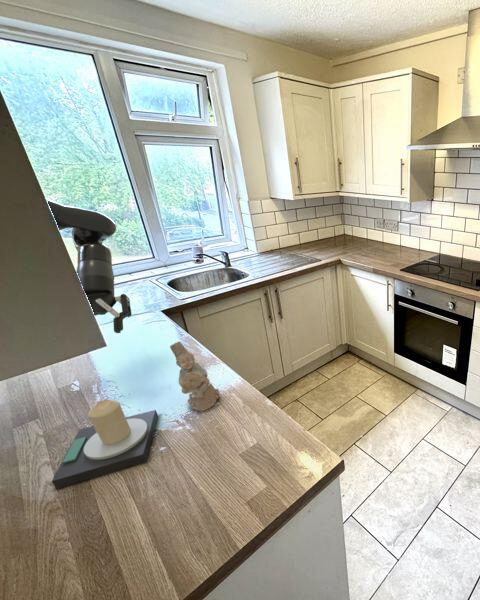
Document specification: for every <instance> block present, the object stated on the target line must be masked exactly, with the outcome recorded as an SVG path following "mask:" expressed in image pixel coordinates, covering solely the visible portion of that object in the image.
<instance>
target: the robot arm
mask: <svg viewBox="0 0 480 600" xmlns="http://www.w3.org/2000/svg"><path fill="white" fill-rule="evenodd" d="M46 199H47V201H48V204H49V206H50V208H51V211H52V213H53V215H54V218H55V220H56V222H57V225H58V228H59V230H58V231H63V230H67V229H72V230H71V239H72V242H73V245H74V247H75V249H76V252H77V266H76V271H77V273H78V276H79V278H80V281H81V284H82V286H83V289H84V291H85V293H86V295H87V297H88V300H89V302H90V304H91V307H92V309H93V312H94V315H95V316H94V317H96V316H105V315H106V314H108V313H109V314H110V315H112V316H113V319H112V320H113V332H114V333H116V334H121V332H122V331H123V330H124V319H125V318H129V317H132V308H131V301H130V297H129V296H127V295H126V294H125V293H122V294H120V295H119V296H116V295H115V276H114V270H113V259H112V251H111V249H110V248H109V247H108V246H107V245H105V244H103V242H104V241H106V240H108V239H109V238H110V237H112V236H113V235H115V233H116V232H117V225H116V223H115V222H114V220H113V219H111V218H110V217H109V216H107V215H105V214H103V213H102V212H98V211H94V210H90V209H85V208H80V207H75V206H68V205H64V204H60V203H59V202H56V201H53V200H51V199H48V198H46ZM117 302H118V303H119V304H120V305H121V312H118V311H116V310H115V308H113V307H114V306H115V305H116V303H117Z"/></svg>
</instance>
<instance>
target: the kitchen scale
mask: <svg viewBox="0 0 480 600" xmlns="http://www.w3.org/2000/svg"><path fill="white" fill-rule="evenodd" d="M125 417H126V420H127V422H128V424H129V427H130V430H131V431H130V434H129V435H128V436H127V437H126V438H125V439H123V440H122V441H120V442H118V443H115V444H111V445H105V444H103V443H102V441H101V440H100V438H99V436H98V433H97V431H96V429H95V427H94V425H91V426H86V427H82V428H79V429H78V432H77V433H76V435H75V437H74V439H73V440H72V442H71V444H70V446H69V448H68V450H67V451H66V454H65V456H64V458H63V459H62V461H61V462H60V465H59V467H58V469H57V470H56V472H55V474H54V475H53V478H52V479H51V483H52V485H53V487H54V489H56V490H58V489H61V488H64V487H67V486H71V485H74V484H77V483H80V482H84V481H87V480H91V479H94V478H97V477H100V476H104V475H107V474H111V473H113V472H117V471H120V470H123V469H125V468H130V467H134V466H136V465H139V464H143V463H146V462H147V461H148V456H149V453H150V449H151V445H152V441H153V438H154V434H155V431H156V427H157V423H158V419H159V414H158V412H157V410H156V409H153V410H150V411H149V410H148V411H145V412H142V413H138V414H133V415H130V416H125Z"/></svg>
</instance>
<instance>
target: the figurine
mask: <svg viewBox="0 0 480 600" xmlns="http://www.w3.org/2000/svg"><path fill="white" fill-rule="evenodd" d="M169 348H170V351H171V352H172V353H173V355H174V357H175V360H176V361H175V364H176V365H177V366H178V367H179V368H180V369H179V375H178V384H179V386H180V387H181V393H182V394H185V395H186V394H187V395H188V399H187V403H188V404H189V405H190V409H191V410H195V411H198V412H203V411H206V410H208V409H210V408H211V407H214V405H215V404H216V403H217V400H218V399H219V398H220V397H219V396H220V392H219V390H220V389H218V388H215V387H214V385H213V384H212V383H211V382H210V379H209V378H208V371H207V370H206V369H205V368H204V367H203V366H202V365H201V364H200V363H199V362H196V361H195V357H194V353H191V352H190V351H188V350H187V348H186V347H185V345H184V344H183V343H182V342H181V341H176V342H175V343H173V344H171V345H170V346H169Z"/></svg>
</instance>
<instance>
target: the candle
mask: <svg viewBox="0 0 480 600" xmlns="http://www.w3.org/2000/svg"><path fill="white" fill-rule="evenodd" d="M87 415H88V417H89V419H90V421H91V424H92V426H94V427H95V429H96V431H97V433H98V436H99V438H100V440H101V441H102V443H103V444H105V445H111V444H115V443H118V442H120V441H122V440H123V439H125V438H126V437H127V436H128V435H129V434H130V431H131V430H130V427H129V424H128V422H127V420H126V417H127V416H126V415H125V413H124V411H123V408H122V406H121V404H120V402H119V401H118V400H114V399H104V400H99V401H97V402H96V404H94V406H92V408H91V409H90V410H89V412H88V414H87Z"/></svg>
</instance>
